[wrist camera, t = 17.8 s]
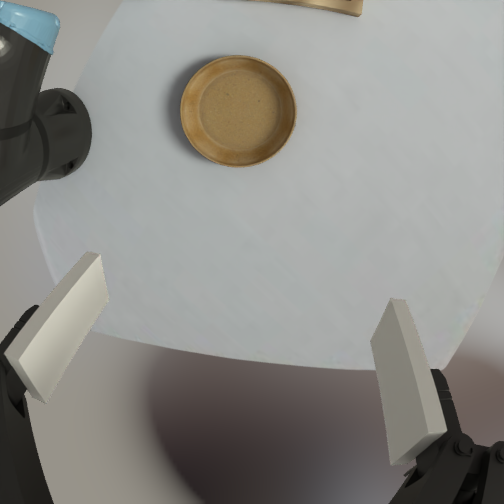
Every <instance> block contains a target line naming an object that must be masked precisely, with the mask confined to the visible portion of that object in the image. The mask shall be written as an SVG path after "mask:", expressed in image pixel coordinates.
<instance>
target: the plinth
mask: <svg viewBox="0 0 504 504" xmlns="http://www.w3.org/2000/svg"><path fill="white" fill-rule="evenodd" d="M250 1H264V2H274V3H283V4H292V5H299V6H306V7H312V8H318V9H323V10H329V11H334V12H338V13H343V14H348V15H352V16H356V17H359V16H360V15H361V14H362V6H363V0H250Z"/></svg>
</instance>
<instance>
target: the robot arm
mask: <svg viewBox="0 0 504 504" xmlns="http://www.w3.org/2000/svg"><path fill="white" fill-rule="evenodd" d="M59 29H60V21H59V19H58V17H57V16H56V15H54V14H52V13H49V12H46V11H42V10H38V9H35V8H31V7H27V6H22V5H18V4H14V3H10V2H5V1H0V206H1V205H3V204H4V203H5V202H7V201H8V200H10V199H11V198H12V197H14V196H15V195H17V194H18V193H20V192H21V191H23V190H24V189H26V188H27V187H29V186H30V185H32V184H33V183H35V182H37V181H44V180H54V179H60V178H63V177H66V176H67V175H69V174H71V173H72V172H74V171H76V170H77V169H78V168H79V167H80V166H81V165H82V164H83V162H84V161H85V159H86V157H87V155H88V152H89V149H90V145H91V138H92V129H91V122H90V117H89V114H88V112H87V109H86V107H85V105H84V104H83V102H82V101H81V100H80V98H79V97H78V96H77V95H75V94H74V93H73V92H71V91H69V90H66V89H62V88H54V89H49V90H45V91H42V92H40V89H41V85H42V81H43V79H44V75H45V72H46V69H47V66H48V63H49V60H50V57H51V55H53V47H54V44H55V41H56V37H57V35H58V32H59ZM39 92H40V93H39ZM108 301H109V296H108V292H107V287H106V282H105V277H104V272H103V266H102V261H101V255H100V254H97V253H92V252H86V253H85V254H84V255H83V257H82V258H81V259H80V260H79V261H78V262H77V263H76V264H75V265H74V266H73V268H72V269H71V270H70V271H69V272H68V273H67V274H66V276H65V277H64V278H63V279H62V280H61V281H60V282H59V284H58V285H57V286H56V287H55V288H54V290H53V291H52V292H51V293H50V294H49V296H48V297H47V298H46V299H45V300H44V302H43V303H42V304H41V305H40V306H38V305H34V306H32V307H31V308H30V309H28V310H27V311H25V313H24V314H23V315H22V316H21V318H20V319H19V321H18V322H17V323H16V324H15V325H14V328H12V329H11V331H10V332H9V333H8V335H7V336H6V337H5V338H4V340H3V341H2V342H1V344H0V504H54V503H53V500H52V497H51V495H50V492H49V489H48V486H47V483H46V480H45V476H44V473H43V470H42V467H41V463H40V459H39V456H38V453H37V448H36V444H35V440H34V436H33V432H32V427H31V422H30V418H29V412H28V407H27V401H26V398H25V395H24V393H25V392H26V390H28V391H29V393H30V394H31V396H32V397H33V398H35V399H37V400H39V401H41V402H43V403H46V404H47V402H48V400H49V398H50V396H51V395H52V393H53V391H54V389H55V387H56V386H57V384H58V382H59V380H60V379H61V377H62V375H63V373H64V372H65V370H66V368H67V367H68V365H69V363H70V361H71V360H72V358H73V356H74V355H75V353H76V351H77V350H78V348H79V347H80V345H81V343H82V342H83V340H84V338H85V337H86V335H87V333H88V332H89V330H90V329H91V327H92V326H93V324H94V322H95V321H96V319H97V318H98V316H99V315H100V313H101V312H102V310H103V309H104V307H105V306H106V304H107V302H108ZM370 342H371V347H372V352H373V357H374V362H375V367H376V372H377V377H378V383H379V388H380V394H381V400H382V406H383V412H384V419H385V426H386V433H387V441H388V449H389V457H390V465H401V464H408V463H409V462H411V461H412V460H413V459H415V458H416V463H417V465H416V466H414V467H413V468H412V469H410V470H409V471H407V472H406V473H405V474H404V476H405V477H406V476H407V475H408V474H409V475H408V477H407V478H406V480H405V481H404V483H403V484H402V486H401V487H400V489H399V490H398V492H397V493H396V494H395V496H394V497H393V498H392V500H391V501H390V503H389V504H504V441H498V442H496V443H495V444H493V445H492V446H491V447H485V446H481V445H476V444H474V442H473V441H472V439H471V438H470V437H469V436H468V435H466V434H464V433H462V431H461V428H460V424H459V421H458V417H457V413H456V410H455V407H454V403H453V401H452V396H451V393H450V392H449V387H448V384H447V381H446V378H445V377H444V376H443V374H442V373H441V372H440V370H439V369H430V367H429V364H428V361H427V358H426V355H425V352H424V349H423V346H422V343H421V341H420V338H419V335H418V332H417V329H416V327H415V324H414V321H413V318H412V316H411V313H410V311H409V308H408V305H407V303H406V300H402V299H393V298H390V301H389V303H388V305H387V307H386V309H385V312H384V314H383V316H382V318H381V320H380V322H379V324H378V326H377V328H376V331H375V333H374V335H373V337H372V339H371V341H370Z"/></svg>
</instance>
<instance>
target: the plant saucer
mask: <svg viewBox="0 0 504 504" xmlns="http://www.w3.org/2000/svg"><path fill="white" fill-rule="evenodd" d="M180 117H181V124H182V127H183V130H184V133H185V135H186V137H187V138H188V140H189V142H190V143H191V144H192V146H193V147H194V148H195V149H196V150H197V151H198V152H199V153H200V154H201V155H203V156H204V157H205V158H207V159H209V160H211V161H213V162H215V163H217V164H220V165H224V166H228V167H250V166H254V165H258V164H260V163H263V162H265V161H267V160H269V159H270V158H272V157H273V156H275V155H276V154H277V153H278V152H280V151H281V150H282V148H283V147H284V146H285V145H286V143H287V142H288V140H289V139H290V137H291V135H292V133H293V130H294V127H295V124H296V118H297V106H296V100H295V96H294V93H293V91H292V88H291V86H290V85H289V83H288V81H287V80H286V78H285V77H284V76H283V75H282V74H281V73H280V72H279V71H278V70H277V69H276V68H274V67H273V66H271V65H270V64H268V63H266V62H264V61H262V60H260V59H257V58H254V57H250V56H242V55H233V56H226V57H222V58H219V59H216V60H213V61H211V62H210V63H208V64H206V65H205V66H203V67H202V68H201V69H199V70H198V71H197V72H196V73H195V74H194V75H193V77H192V78H191V79H190V80H189V82H188V84H187V85H186V87H185V90H184V92H183V95H182V98H181V104H180Z"/></svg>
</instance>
